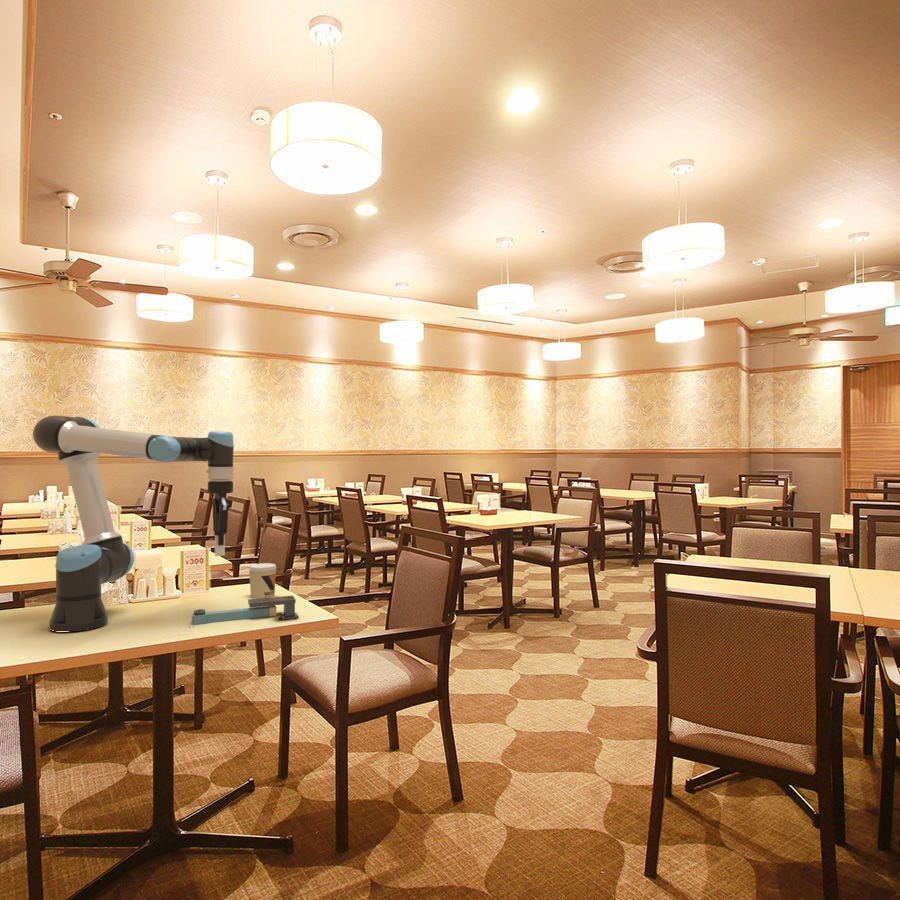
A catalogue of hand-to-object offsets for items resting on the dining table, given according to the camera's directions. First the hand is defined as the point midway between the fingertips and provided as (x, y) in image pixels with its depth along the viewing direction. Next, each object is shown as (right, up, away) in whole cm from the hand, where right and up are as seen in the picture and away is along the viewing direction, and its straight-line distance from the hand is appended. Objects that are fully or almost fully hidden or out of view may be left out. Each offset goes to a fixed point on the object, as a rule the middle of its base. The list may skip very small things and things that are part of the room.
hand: (219, 555), depth 201 cm
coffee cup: (+7, -20, +23) cm, 31 cm away
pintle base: (-2, -19, -12) cm, 23 cm away
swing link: (+7, -18, -8) cm, 21 cm away
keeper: (+18, -19, -4) cm, 26 cm away
